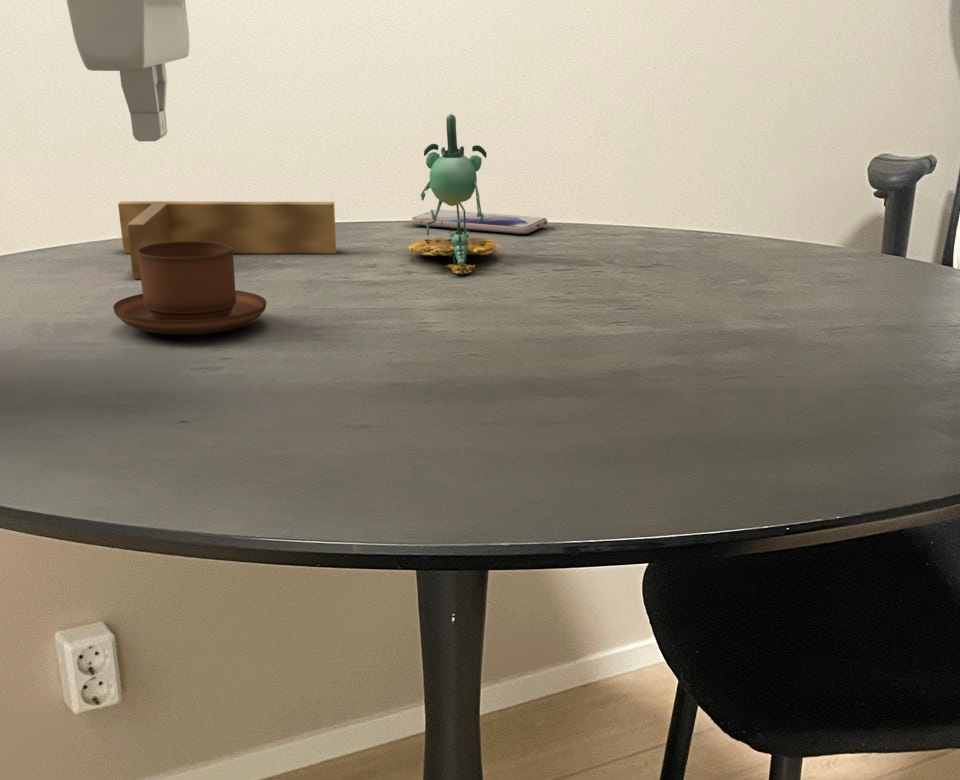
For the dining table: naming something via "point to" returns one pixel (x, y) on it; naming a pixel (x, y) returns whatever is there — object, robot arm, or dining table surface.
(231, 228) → the corner stop
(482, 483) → the dining table surface
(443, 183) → the green cartoon figurine
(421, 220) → the smartphone
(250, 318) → the cup and saucer
